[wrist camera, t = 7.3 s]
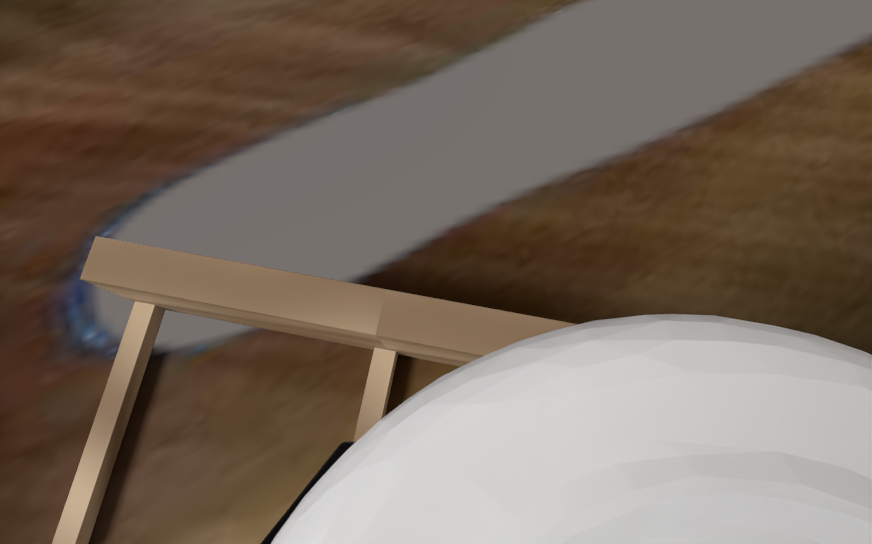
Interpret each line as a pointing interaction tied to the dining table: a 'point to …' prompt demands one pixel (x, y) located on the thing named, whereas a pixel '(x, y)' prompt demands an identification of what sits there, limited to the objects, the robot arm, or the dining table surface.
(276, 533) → the robot arm
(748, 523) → the sprinkles bottle
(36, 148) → the dining table surface
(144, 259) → the bay rail
